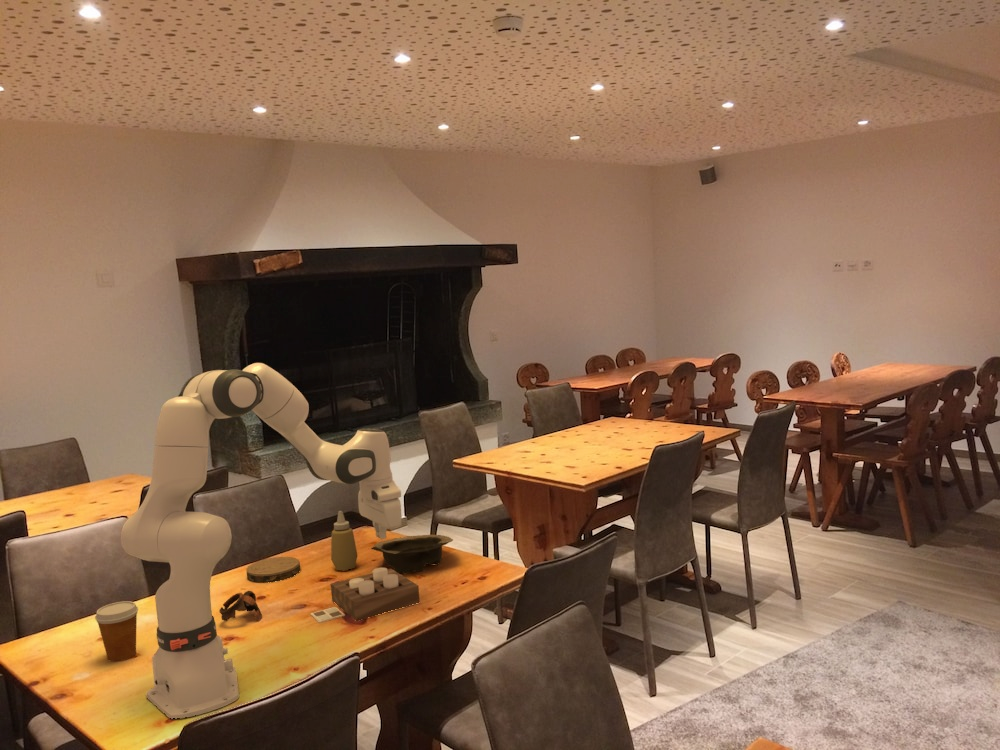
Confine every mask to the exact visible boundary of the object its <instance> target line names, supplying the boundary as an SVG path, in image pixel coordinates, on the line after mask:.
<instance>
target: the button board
mask: <svg viewBox="0 0 1000 750" xmlns="http://www.w3.org/2000/svg"><path fill="white" fill-rule="evenodd" d="M387 572H388V574H396V575H398V584H399V586H398V587H395V588H391V589H387V590H386V589H384V585H383V581H380V582H377V583H376V582H374V580H373V572H371V573H367V574H364V575H359V576H356V577H351V578H348V579H344V580H340V581H334V582H331V583H330V595H331V602H332V601H333V602H332V603H334V602H335V603H336V604H337V605H338V606H339V608H340V609H341V608H342V609H343V610H344V611H343V610H342V609H341V610H342V611H343V612H344V613H346V614H347V615H348V614H349V615H350V616H349V615H348V616H349V617H350V618H352V619H353V620H354V621H355V620H356V621H355V622H359V620H360V621H362V620H361V619H363V620H367V619H369V618H368V617H370V618H373V617H372V616H374V617H376V616H375V615H378V614H381V615H383V614H382V613H384V612H388V611H391V610H395V609H399V608H402V607H406V606H409V605H412V604H416V603H419V602H420V603H421V601H420V591H419V590H420V589H419V585H418V584H417V583H415V582H414V581H412V580H410V579H409V578H407V577H405V576H404V575H402V573H401V574H399V573H397V572H396V571H394V568H387ZM354 578H363V579H364V581H365V580H371V581H373V582H374V592H375V593H372V594H368V595H365V596H360V595H359V587H357V588H354V589H351V588H350V586H349V581H350V580H351V579H354ZM335 603H334V604H335ZM336 604H335V605H336ZM337 605H336V606H337ZM416 605H417V604H416ZM338 606H337V607H338ZM409 607H410V606H409ZM406 608H407V607H406ZM402 609H403V608H402ZM399 610H400V609H399ZM395 611H396V610H395ZM388 613H389V612H388ZM378 616H379V615H378ZM366 618H367V619H366Z"/></svg>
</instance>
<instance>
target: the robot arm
mask: <svg viewBox="0 0 1000 750" xmlns="http://www.w3.org/2000/svg"><path fill="white" fill-rule="evenodd" d="M309 406H310V405H309V402H308V400H307V399H306V397H305V396H304V395H303V394H302V392H300V390H298V388H297V387H296V386H295V385H293V383H292V382H291V381H289V380H288V379H287V378H286V377H284V375H282V374H281V373H279V372H278V371H276V370H275V369H273V368H272V367H271V366H269V365H267V364H265V363H263V362H254V363H252V364H249V365H247V366H246V367H244V368H243V369H242V370H241V369H228V370H226V369H223V370H222V369H214V370H210V371H206V372H200V373H196V374H195V375H192V376H191V377H190V378H188V379H187V381H185V382H184V384H183V385H182V388H181V390H180V392H179V394H178V395H177V396H176V397H172V398H170V399H167V400H166V401H165V402H164V403H163V405H162V406H161V409H160V412H159V416H158V420H157V425H156V429H155V437H154V438H155V439H154V451H153V462H152V472H151V479H150V484H149V488H148V490H147V493H146V494H145V497H144V499H143V501H142V503H141V504H140V506H139V508H138V509H137V510H136V512H134V513H133V514H132V515H130V517H128V518H127V520H126V521H125V522H124V523H123V526H122V529H121V533H120V543H121V547H122V549H123V550H124V552H125V553H126V554H128V555H129V556H131V557H134V558H137V559H138V560H139V559H140V560H142V561H147V562H157V563H168V564H169V566H170V573H169V574H170V575H169V577H168V578H169V579H167V580H166V581H165V582H163V583H162V584H161V585H160V586H159V588H158V589H157V590H156V592H155V597H154V600H155V609H156V618H157V627H156V639H157V645H158V648H157V650H156V651H155V653H154V654H153V656H152V657H151V661H152V663H151V664H152V675H153V685H154V686H153V687H152V688H150V689H149V690H148V691H146V693H145V694H146V699H147V698H148V699H147V700H148V701H150V702H151V703H152V705H154V706H155V705H156V706H157V707H156V706H155V707H156V708H158V709H159V711H161V712H162V714H164V713H165V714H166V716H167V718H169V719H170V718H171V719H170V720H178V719H177V718H180V719H185V717H187V718H190V717H195V715H196V716H199V715H203V714H206V713H209V712H212V711H216V710H218V709H221V708H224V707H225V706H228V705H230V704H232V703H234V702H235V701H237V700H238V699H239V698H240V693H239V683H238V675H237V674H238V673H237V668H236V667H235V666H234V665H233V658H228V659H225V655H227V654H228V655H229V652H228V650H229V649H228V647H224V644H223V638H222V637H220V636H219V635H218V634H217V633H218V632H217V623H216V621H215V616H213V614H212V613H213V612H212V611H213V610H212V602H211V600H212V599H211V580H212V574H213V572H214V569H215V567H216V566H217V564H218V563H219V562H220V560H222V559H223V558H224V557H225V556H226V554H227V553H228V551H229V550H230V548H231V544H232V529H231V527H230V525H229V524H230V523H229V522H228V520H226V519H225V518H224V517H221V516H219V515H216V514H212V513H208V512H205V511H186V508H187V505H188V502H189V500H190V499H191V497H192V495H193V494H194V493H195V492H197V491H199V490H200V489H201V488H203V486H204V485H205V483H206V481H207V476H208V475H207V472H208V459H209V458H208V457H209V441H210V440H209V432H210V429H211V426H212V423H213V422H214V421H215V420H216V419H218V420H221V419H229V418H238V417H241V416H244V415H246V414H248V413H249V412H251V411H252V412H253V413H254V414H255V415H256V416H257V417H258V418H259V419H261V420H262V421H263V422H264V423H266V424H267V425H268V427H271V429H273V430H274V431H276V432H278V434H280V435H281V436H282V437H283V438H284V439H285V440H286V441H287V442H288V443H289V444H290V445H291V446H292V447H293V448H294V449H295V450H296V451H297V452H298V453H299V454H300V455H301V456H302V458H303V460H304V462H305V463H306V466H307V469H308V471H309V472H310V474H311V475H312V476H313V477H314V478H315V479H316V478H317V479H318V480H322V481H331V482H334V483H339V484H344V485H352V484H357V483H359V491H358V495H357V497H358V499H357V500H358V512H359V514H360V516H362V517H363V518H365V519H368V520H369V521H372V526H373V528H374V531H375V536H376V538H378V539H380V540H385V539H386V538H387V531H388V530H393V529H398V528H400V527H401V526H402V521H403V520H402V504H401V500H400V498H401V497H402V491H401V489H400V487H398V486H397V484H396V482H395V481H394V480H393V473H392V470H391V460H392V459H391V450H390V443H389V439H388V435H387V433H386V432H385V431H384V430H382V429H380V428H379V429H378V428H369V427H368V428H365V427H363V428H359V429H358V430H357V431H356V433H355V435H354V436H353V437H352V438H351V439H350V440H348V441H347V442H346V443H344V444H342V445H341V444H336V443H333V442H329V441H326V440H323V439H321V438H320V437H319V436H318V435H317V434H316V432H314V431H313V429H311V428H310V427H309V425H308V424H307V423H306V422H305V421H306V420H307V418H308V416H309V411H310V409H309V408H310V407H309ZM165 714H164V715H165ZM173 718H175V719H173Z"/></svg>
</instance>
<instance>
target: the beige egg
mask: <svg viewBox="0 0 1000 750" xmlns="http://www.w3.org/2000/svg"><path fill="white" fill-rule="evenodd" d="M387 569H388V568H387V567H376V568H374V569H372V573H373V580H374V582H376V583H377V582H380V581H383V576H385V575H388V572H387Z"/></svg>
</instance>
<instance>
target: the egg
mask: <svg viewBox="0 0 1000 750" xmlns="http://www.w3.org/2000/svg"><path fill="white" fill-rule="evenodd" d="M353 578H354V579H351V578H350V579H351V580H350V581H349V586H350V588H351V589H354V588H357V587H359V585H358V583H359V582H361V581H364V579H363V578H355V577H353Z"/></svg>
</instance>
